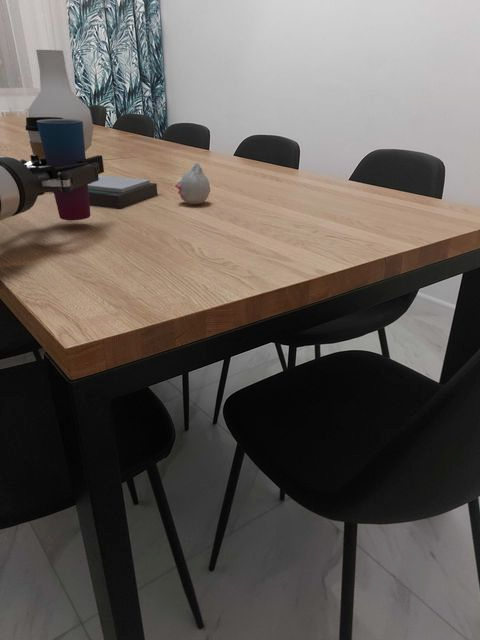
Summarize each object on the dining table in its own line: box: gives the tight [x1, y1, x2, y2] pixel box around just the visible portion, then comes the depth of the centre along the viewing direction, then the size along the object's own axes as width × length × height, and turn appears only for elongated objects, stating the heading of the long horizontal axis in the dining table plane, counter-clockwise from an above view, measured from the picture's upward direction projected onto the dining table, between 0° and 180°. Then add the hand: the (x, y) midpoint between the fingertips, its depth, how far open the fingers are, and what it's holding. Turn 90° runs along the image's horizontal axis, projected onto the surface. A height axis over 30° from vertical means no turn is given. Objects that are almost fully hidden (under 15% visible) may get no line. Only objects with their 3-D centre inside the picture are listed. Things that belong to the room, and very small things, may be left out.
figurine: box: [174, 162, 211, 205], centre depth 101 cm, size 6×7×8 cm
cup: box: [37, 119, 91, 221], centre depth 82 cm, size 7×7×15 cm
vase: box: [27, 49, 94, 152], centre depth 137 cm, size 17×16×28 cm
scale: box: [88, 174, 158, 210], centre depth 106 cm, size 14×14×3 cm
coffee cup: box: [24, 116, 63, 162], centre depth 110 cm, size 8×8×15 cm
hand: (82, 162), depth 86 cm, fingers closed on cup, 6 cm apart
